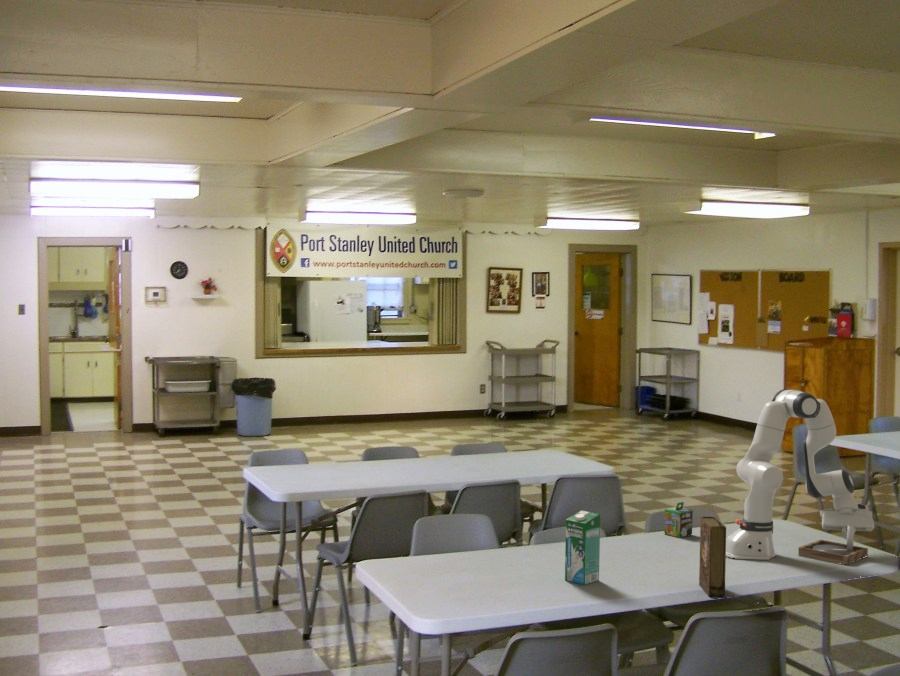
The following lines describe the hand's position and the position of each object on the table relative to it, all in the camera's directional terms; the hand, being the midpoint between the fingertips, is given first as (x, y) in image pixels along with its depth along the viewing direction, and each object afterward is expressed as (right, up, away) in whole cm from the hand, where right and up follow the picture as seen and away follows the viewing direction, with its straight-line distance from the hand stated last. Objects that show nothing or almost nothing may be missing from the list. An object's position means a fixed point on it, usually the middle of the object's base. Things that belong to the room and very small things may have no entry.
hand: (850, 538), depth 404 cm
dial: (-7, -6, 0) cm, 9 cm away
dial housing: (-7, -7, 0) cm, 10 cm away
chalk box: (-63, -6, +34) cm, 72 cm away
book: (-71, -8, -51) cm, 88 cm away
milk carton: (-116, -7, -41) cm, 123 cm away
